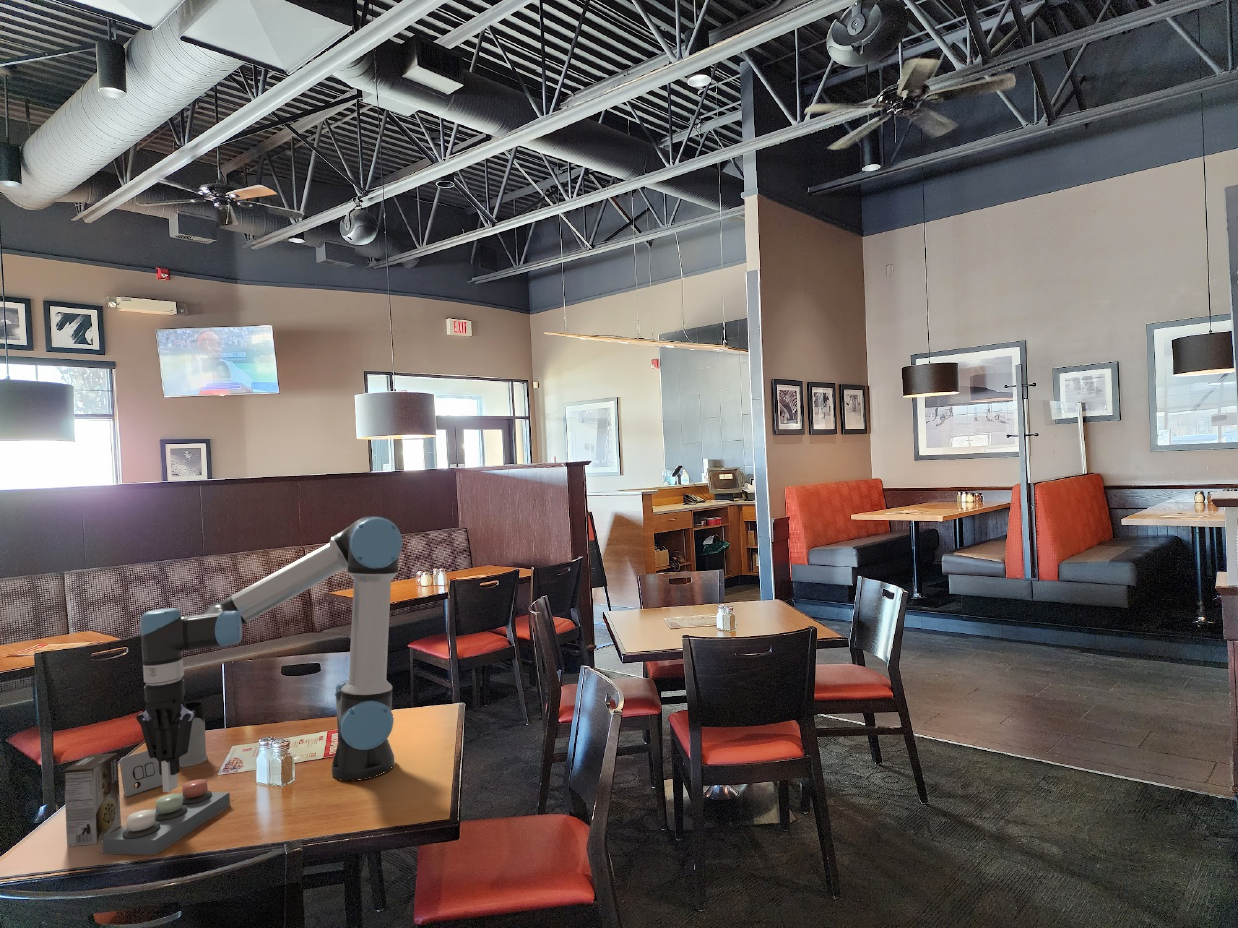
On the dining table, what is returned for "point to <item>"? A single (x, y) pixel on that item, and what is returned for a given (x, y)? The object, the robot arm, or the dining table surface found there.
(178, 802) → the green button
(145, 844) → the button panel
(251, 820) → the dining table surface
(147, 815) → the cream button
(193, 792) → the red button
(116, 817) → the cookie box
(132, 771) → the electrical switch
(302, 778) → the dining table surface
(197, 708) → the glass holder
